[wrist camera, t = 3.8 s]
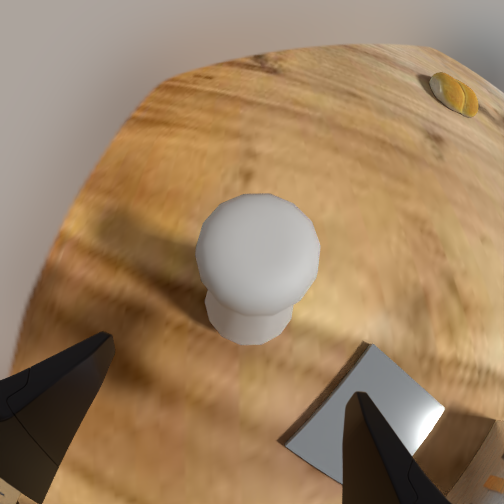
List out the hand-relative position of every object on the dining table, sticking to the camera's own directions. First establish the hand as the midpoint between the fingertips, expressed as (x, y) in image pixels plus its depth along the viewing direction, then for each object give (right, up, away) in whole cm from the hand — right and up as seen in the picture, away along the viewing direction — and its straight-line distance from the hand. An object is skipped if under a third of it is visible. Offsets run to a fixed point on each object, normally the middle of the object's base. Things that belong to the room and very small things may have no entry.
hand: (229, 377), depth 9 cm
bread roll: (+32, +28, +24) cm, 49 cm away
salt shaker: (+1, 0, +12) cm, 12 cm away
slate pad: (+10, -9, +9) cm, 16 cm away
